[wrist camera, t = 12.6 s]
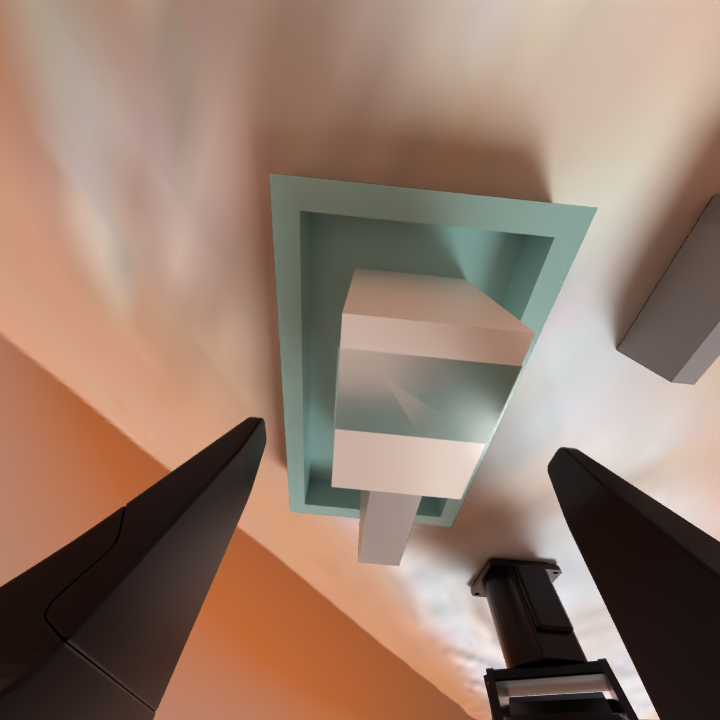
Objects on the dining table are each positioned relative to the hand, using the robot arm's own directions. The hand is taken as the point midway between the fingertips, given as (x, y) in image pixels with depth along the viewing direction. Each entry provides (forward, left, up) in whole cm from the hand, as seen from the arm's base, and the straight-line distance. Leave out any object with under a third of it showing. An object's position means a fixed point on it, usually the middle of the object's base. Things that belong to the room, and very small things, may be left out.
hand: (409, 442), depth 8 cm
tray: (-3, 0, -7) cm, 8 cm away
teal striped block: (-3, 0, -7) cm, 7 cm away
